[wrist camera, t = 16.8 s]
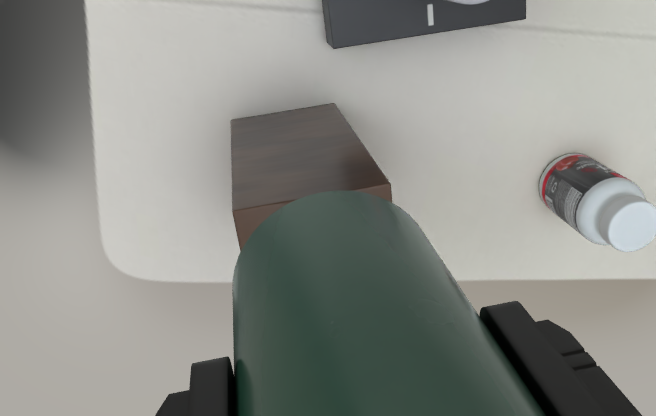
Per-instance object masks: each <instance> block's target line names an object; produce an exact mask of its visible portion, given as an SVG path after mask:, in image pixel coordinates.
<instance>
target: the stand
mask: <svg viewBox="0 0 656 416" xmlns="http://www.w3.org/2000/svg"><path fill="white" fill-rule="evenodd" d="M231 160H232V212H233V217H234V222H235V227H236V231H237V236H238V241H239V246H240V251H242V249H243V247H244V245H245V243H246V242H247V240H248V239H249V237H250V236H251V234H252V233H253V232H254V231H255V230H256V228H257V227H258V226H259V225H260V224H261V223H262V222H263V221H264V220H265V219H267V218H268V217H269V216H270V215H271V214H273V213H274V212H276V211H277V210H279V209H280V208H282V207H283V206H285V205H287V204H289V203H291V202H293V201H295V200H297V199H300V198H303V197H306V196H308V195H312V194H316V193H321V192H328V191H336V190H338V191H357V192H364V193H368V194H372V195H375V196H378V197H381V198H383V199H385V200H388V201H390V202H391V203H392V194H391V184H390V182H389V181H388V180H387V178H386V177H385V175H384V174H383V172H382V171H381V169H380V168H379V167H378V165H377V164H376V162H375V161H374V159H373V158H372V157H371V155H370V154H369V152H368V151H367V149H366V148H365V147H364V145H363V144H362V142H361V141H360V139H359V138H358V137H357V135H356V134H355V132H354V131H353V129H352V128H351V126H350V125H349V124H348V122H347V121H346V119H345V118H344V116H343V115H342V114H341V112H340V111H339V109H338V108H337V106H336V105H335V104H334V103H332V104H326V105H320V106H314V107H308V108H302V109H295V110H289V111H283V112H277V113H271V114H265V115H259V116H252V117H246V118H240V119H234V120H231Z"/></svg>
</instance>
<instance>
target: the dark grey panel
mask: <svg viewBox="0 0 656 416" xmlns="http://www.w3.org/2000/svg"><path fill="white" fill-rule="evenodd" d="M322 6H323V14H324V22H325V30H326V38H327V43H328V44H329V45H330V46H331V47H332V48H333V49H336V48H342V47H349V46H355V45H362V44H368V43H375V42H381V41H388V40H394V39H400V38H407V37H413V36H420V35H426V34H433V33H439V32H446V31H452V30H458V29H465V28H471V27H478V26H484V25H491V24H497V23H504V22H510V21H517V20H523V19H526V0H488V1H486V2H483V3H479V4H461V3H456V2H452V1H447V0H322Z"/></svg>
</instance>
